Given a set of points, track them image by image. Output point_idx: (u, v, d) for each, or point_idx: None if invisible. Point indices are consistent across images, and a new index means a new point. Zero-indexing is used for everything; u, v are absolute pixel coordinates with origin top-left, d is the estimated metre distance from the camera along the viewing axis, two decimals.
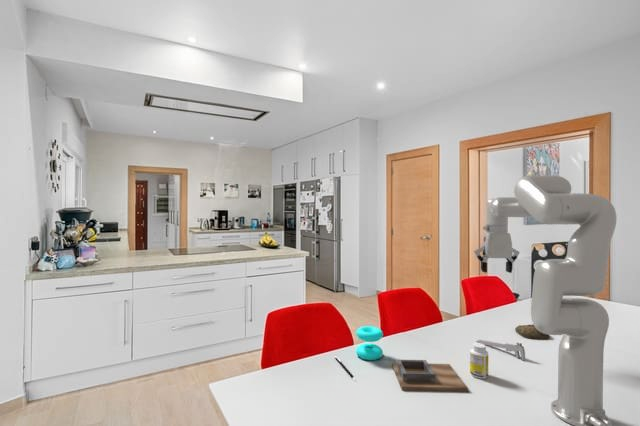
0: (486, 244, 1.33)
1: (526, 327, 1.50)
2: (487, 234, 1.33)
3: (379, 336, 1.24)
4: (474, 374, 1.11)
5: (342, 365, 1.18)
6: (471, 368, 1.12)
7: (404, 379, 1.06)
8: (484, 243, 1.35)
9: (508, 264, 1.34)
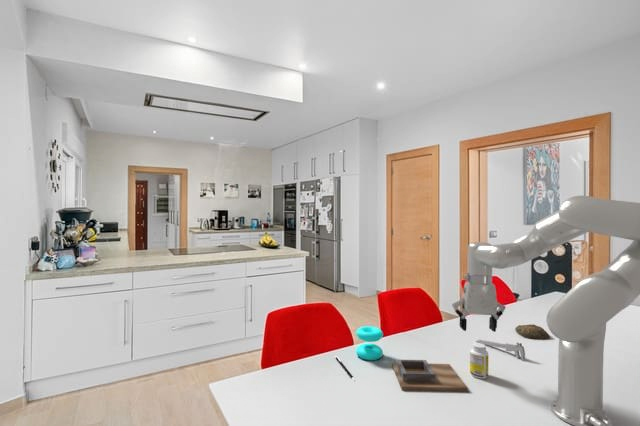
0: (466, 297, 1.11)
1: (526, 327, 1.50)
2: (467, 285, 1.11)
3: (379, 336, 1.24)
4: (474, 374, 1.11)
5: (342, 365, 1.18)
6: (471, 368, 1.12)
7: (404, 379, 1.06)
8: (464, 295, 1.13)
9: (492, 321, 1.12)
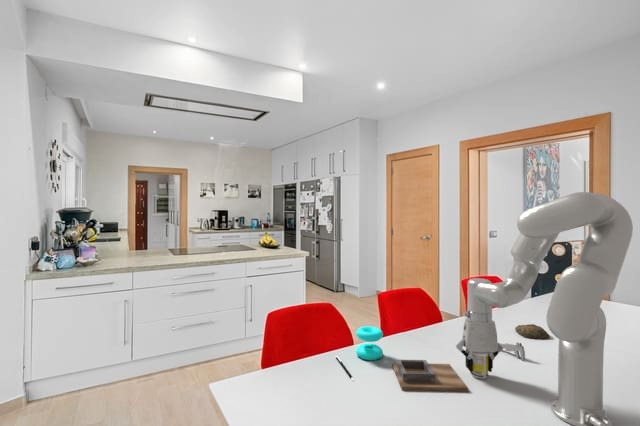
0: (466, 335, 1.11)
1: (526, 327, 1.50)
2: (468, 323, 1.11)
3: (379, 336, 1.24)
4: (474, 374, 1.11)
5: (342, 365, 1.18)
6: None
7: (404, 379, 1.06)
8: (464, 332, 1.13)
9: (488, 361, 1.12)
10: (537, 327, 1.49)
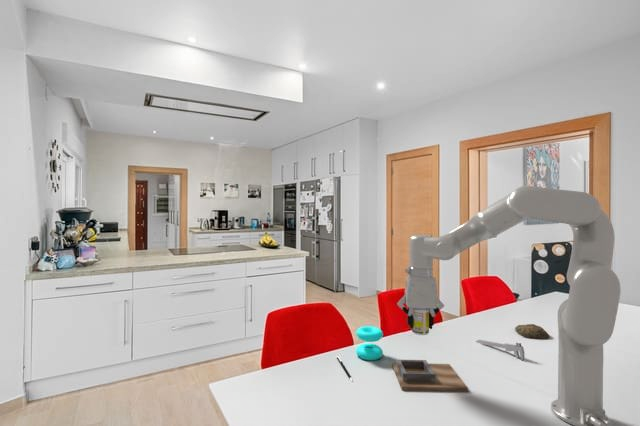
0: (406, 291, 1.09)
1: (526, 327, 1.50)
2: (408, 279, 1.10)
3: (379, 336, 1.24)
4: (414, 331, 1.10)
5: (342, 365, 1.18)
6: None
7: (404, 379, 1.06)
8: (405, 289, 1.11)
9: (429, 318, 1.10)
10: (537, 327, 1.49)
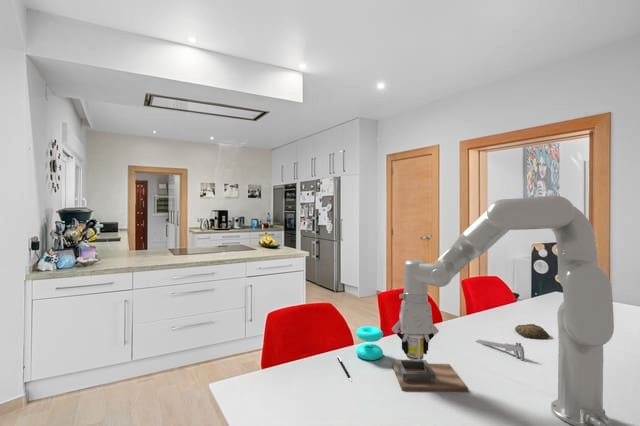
0: (401, 317, 1.09)
1: (526, 327, 1.50)
2: (403, 304, 1.09)
3: (379, 336, 1.24)
4: (409, 356, 1.09)
5: (342, 365, 1.18)
6: None
7: (404, 379, 1.06)
8: (400, 314, 1.11)
9: None
10: (537, 327, 1.49)
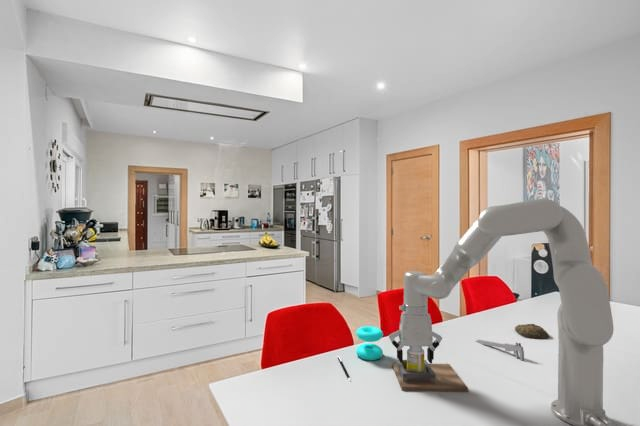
0: (401, 328, 1.09)
1: (525, 326, 1.50)
2: (402, 316, 1.09)
3: (379, 336, 1.24)
4: None
5: (342, 365, 1.18)
6: (407, 367, 1.10)
7: (404, 379, 1.06)
8: (400, 326, 1.11)
9: (429, 352, 1.10)
10: (537, 327, 1.49)
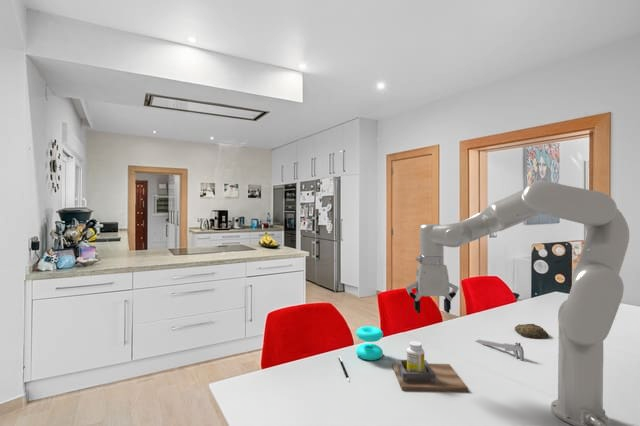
0: (418, 279, 1.11)
1: (525, 326, 1.50)
2: (419, 267, 1.11)
3: (379, 336, 1.24)
4: None
5: (342, 365, 1.18)
6: (407, 367, 1.10)
7: (404, 379, 1.06)
8: (417, 278, 1.12)
9: (446, 302, 1.12)
10: (536, 327, 1.49)
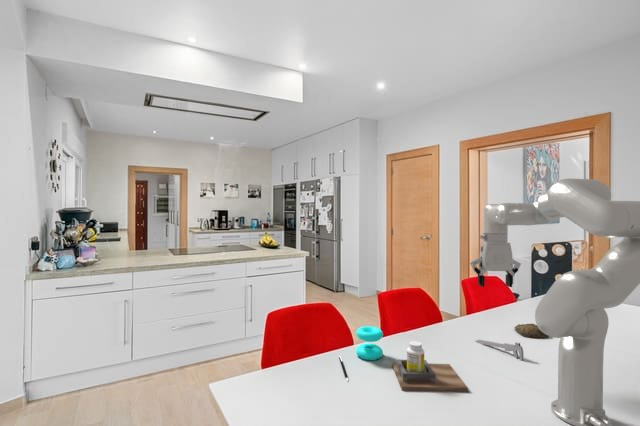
0: (483, 255, 1.19)
1: (525, 326, 1.51)
2: (485, 244, 1.19)
3: (379, 336, 1.24)
4: None
5: (342, 365, 1.18)
6: (407, 367, 1.10)
7: (404, 379, 1.06)
8: (481, 254, 1.20)
9: (508, 277, 1.20)
10: (536, 326, 1.50)
